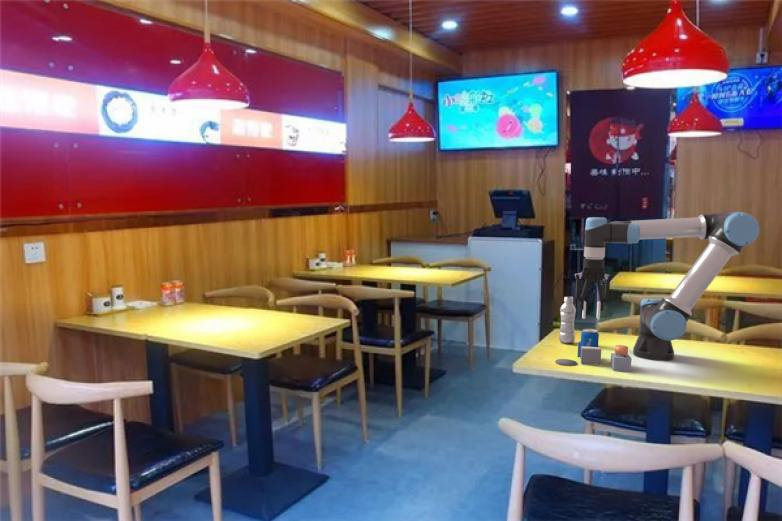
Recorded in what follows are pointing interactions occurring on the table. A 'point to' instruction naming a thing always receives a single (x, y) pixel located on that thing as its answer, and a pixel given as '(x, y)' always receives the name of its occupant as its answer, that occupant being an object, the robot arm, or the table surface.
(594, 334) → the beverage can
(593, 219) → the robot arm
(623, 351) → the plunger
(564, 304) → the plastic bottle
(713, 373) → the table surface
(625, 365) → the block
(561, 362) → the pad
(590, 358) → the cradle
